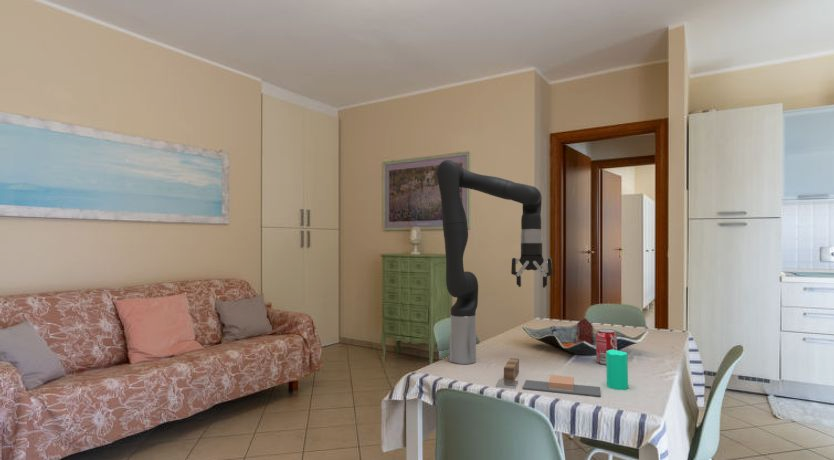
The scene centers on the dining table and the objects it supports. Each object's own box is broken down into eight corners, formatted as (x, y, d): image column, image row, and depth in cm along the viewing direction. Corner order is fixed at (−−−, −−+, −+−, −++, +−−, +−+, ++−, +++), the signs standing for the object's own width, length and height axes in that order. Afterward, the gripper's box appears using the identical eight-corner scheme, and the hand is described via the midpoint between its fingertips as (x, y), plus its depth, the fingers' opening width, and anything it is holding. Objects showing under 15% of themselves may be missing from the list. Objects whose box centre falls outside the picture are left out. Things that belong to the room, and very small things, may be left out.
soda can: (616, 361, 172) (616, 329, 173) (618, 366, 166) (617, 332, 166) (596, 360, 175) (595, 327, 175) (596, 365, 168) (596, 331, 168)
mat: (522, 389, 141) (522, 387, 141) (525, 381, 149) (525, 379, 149) (600, 397, 134) (600, 395, 134) (600, 388, 141) (600, 386, 142)
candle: (603, 383, 146) (602, 345, 146) (621, 383, 147) (620, 344, 147) (612, 390, 140) (612, 349, 140) (631, 389, 141) (631, 349, 141)
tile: (550, 381, 147) (548, 388, 140) (550, 374, 147) (548, 382, 140) (574, 383, 145) (573, 391, 137) (573, 377, 145) (573, 384, 138)
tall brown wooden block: (505, 370, 162) (505, 357, 162) (523, 372, 160) (523, 359, 160) (495, 387, 144) (495, 372, 144) (515, 389, 142) (515, 374, 142)
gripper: (509, 242, 168) (510, 287, 167) (551, 242, 163) (551, 288, 162) (513, 242, 175) (513, 285, 174) (552, 241, 170) (553, 286, 169)
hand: (531, 287), depth 168 cm, fingers open, 8 cm apart
